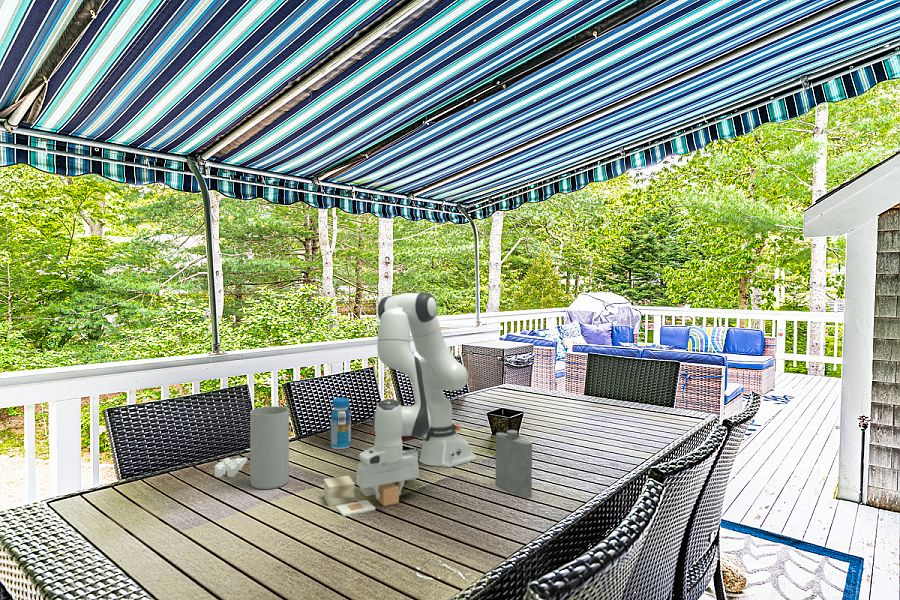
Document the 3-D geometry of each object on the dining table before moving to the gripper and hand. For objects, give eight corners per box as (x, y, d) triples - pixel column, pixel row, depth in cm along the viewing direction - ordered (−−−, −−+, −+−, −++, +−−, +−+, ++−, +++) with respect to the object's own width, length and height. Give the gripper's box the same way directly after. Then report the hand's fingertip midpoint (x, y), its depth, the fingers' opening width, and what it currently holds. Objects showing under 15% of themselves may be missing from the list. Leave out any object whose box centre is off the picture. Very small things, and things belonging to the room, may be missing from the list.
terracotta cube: (392, 497, 178) (392, 482, 178) (398, 502, 173) (398, 487, 173) (377, 500, 175) (377, 484, 175) (384, 505, 171) (384, 489, 171)
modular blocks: (233, 477, 195) (233, 466, 195) (213, 478, 195) (213, 466, 195) (249, 460, 215) (249, 449, 215) (231, 460, 214) (231, 449, 214)
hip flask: (533, 496, 180) (534, 435, 179) (524, 499, 177) (525, 437, 177) (500, 482, 192) (501, 424, 192) (491, 484, 190) (492, 426, 189)
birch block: (348, 493, 181) (348, 475, 181) (354, 502, 174) (354, 483, 173) (323, 497, 178) (324, 478, 178) (328, 506, 170) (328, 487, 170)
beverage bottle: (326, 448, 230) (326, 400, 229) (337, 442, 237) (337, 396, 237) (343, 450, 226) (343, 402, 226) (354, 445, 234) (355, 398, 234)
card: (366, 501, 174) (366, 499, 174) (375, 509, 168) (375, 507, 168) (335, 508, 169) (335, 505, 169) (343, 516, 163) (343, 514, 163)
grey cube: (374, 488, 185) (374, 473, 185) (380, 493, 181) (380, 478, 181) (360, 491, 183) (360, 476, 183) (365, 496, 179) (366, 481, 178)
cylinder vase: (253, 492, 181) (253, 416, 180) (248, 480, 192) (247, 408, 191) (292, 486, 187) (292, 412, 186) (285, 474, 198) (285, 405, 197)
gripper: (413, 445, 182) (413, 487, 182) (354, 454, 172) (354, 498, 172) (422, 450, 176) (422, 493, 177) (361, 460, 166) (361, 506, 167)
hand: (388, 496), depth 174 cm, fingers closed on terracotta cube, 5 cm apart
